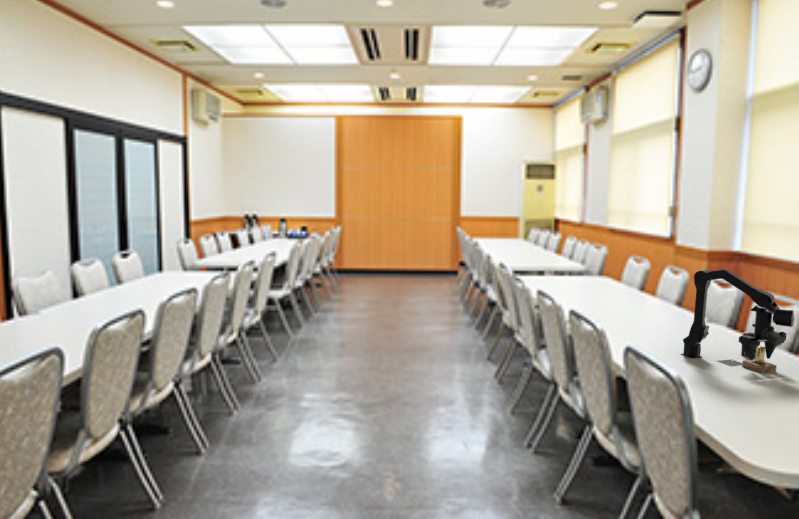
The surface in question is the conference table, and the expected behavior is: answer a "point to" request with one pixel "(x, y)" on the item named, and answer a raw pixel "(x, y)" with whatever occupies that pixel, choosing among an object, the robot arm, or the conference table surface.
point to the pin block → (759, 366)
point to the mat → (730, 362)
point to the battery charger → (743, 351)
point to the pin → (760, 355)
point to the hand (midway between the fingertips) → (759, 359)
